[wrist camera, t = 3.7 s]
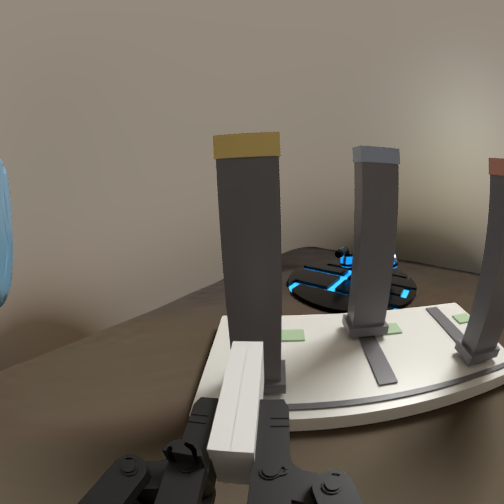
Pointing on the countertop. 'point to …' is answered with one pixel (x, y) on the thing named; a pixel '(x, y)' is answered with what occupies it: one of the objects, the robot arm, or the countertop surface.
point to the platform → (342, 284)
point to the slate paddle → (372, 240)
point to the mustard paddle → (252, 244)
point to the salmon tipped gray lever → (488, 281)
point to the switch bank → (367, 368)
